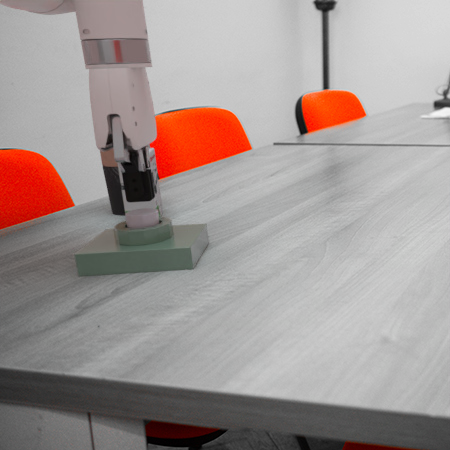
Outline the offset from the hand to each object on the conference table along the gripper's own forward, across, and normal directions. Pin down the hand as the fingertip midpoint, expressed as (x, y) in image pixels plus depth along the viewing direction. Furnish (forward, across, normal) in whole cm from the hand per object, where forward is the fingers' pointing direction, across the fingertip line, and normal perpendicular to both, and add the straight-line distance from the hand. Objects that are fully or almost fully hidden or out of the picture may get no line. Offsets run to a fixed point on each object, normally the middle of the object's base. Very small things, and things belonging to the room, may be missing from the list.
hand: (141, 200), depth 76 cm
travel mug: (+8, -28, -10) cm, 31 cm away
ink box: (+8, -21, -6) cm, 23 cm away
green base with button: (+8, 0, 0) cm, 8 cm away
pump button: (+4, 0, 0) cm, 4 cm away
